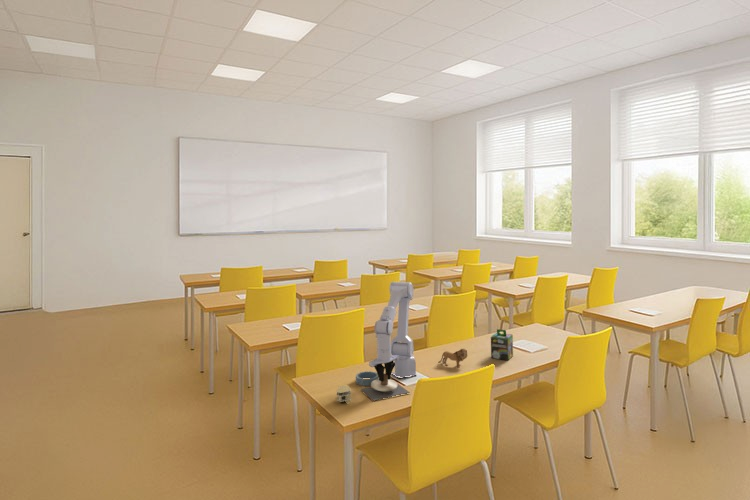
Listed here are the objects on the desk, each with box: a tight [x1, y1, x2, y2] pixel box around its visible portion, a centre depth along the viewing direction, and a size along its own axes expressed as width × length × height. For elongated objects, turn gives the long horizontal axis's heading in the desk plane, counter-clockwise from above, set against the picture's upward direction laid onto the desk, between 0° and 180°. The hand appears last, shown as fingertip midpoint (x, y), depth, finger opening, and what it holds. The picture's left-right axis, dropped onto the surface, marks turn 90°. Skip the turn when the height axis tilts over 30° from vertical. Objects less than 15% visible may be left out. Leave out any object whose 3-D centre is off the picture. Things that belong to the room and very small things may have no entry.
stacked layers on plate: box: [336, 385, 352, 404], centre depth 186 cm, size 10×9×6 cm
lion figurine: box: [438, 348, 468, 368], centre depth 226 cm, size 15×5×9 cm, turn 68°
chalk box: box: [490, 328, 514, 361], centre depth 236 cm, size 9×9×15 cm
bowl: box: [355, 370, 379, 387], centre depth 206 cm, size 10×10×3 cm
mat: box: [360, 383, 411, 402], centre depth 194 cm, size 17×13×1 cm
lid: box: [370, 373, 398, 391], centre depth 194 cm, size 11×11×5 cm
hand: (384, 379), depth 194 cm, fingers closed on lid, 3 cm apart
